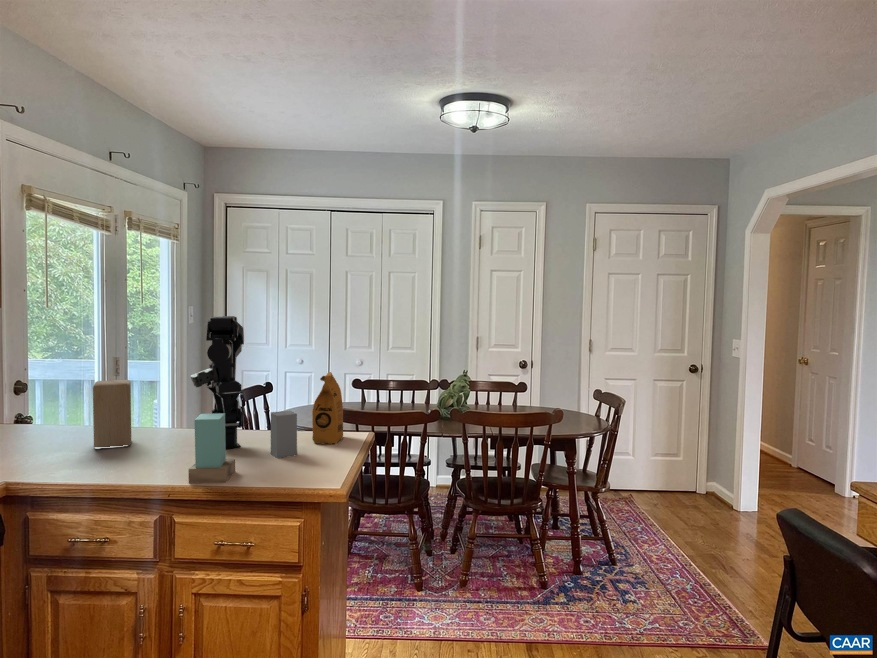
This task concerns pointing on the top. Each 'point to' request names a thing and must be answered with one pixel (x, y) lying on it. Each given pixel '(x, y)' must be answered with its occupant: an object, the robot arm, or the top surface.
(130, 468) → the top surface
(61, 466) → the top surface
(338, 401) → the coffee package
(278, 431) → the grey rectangular pillar
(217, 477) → the taupe square slab
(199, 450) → the teal pillar
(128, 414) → the block
